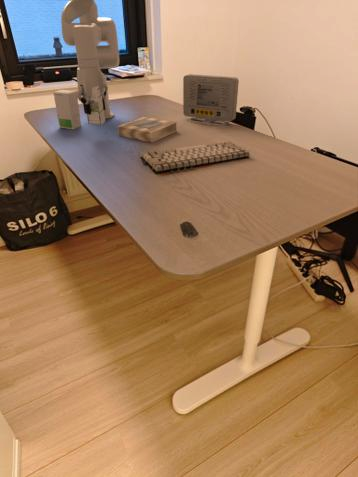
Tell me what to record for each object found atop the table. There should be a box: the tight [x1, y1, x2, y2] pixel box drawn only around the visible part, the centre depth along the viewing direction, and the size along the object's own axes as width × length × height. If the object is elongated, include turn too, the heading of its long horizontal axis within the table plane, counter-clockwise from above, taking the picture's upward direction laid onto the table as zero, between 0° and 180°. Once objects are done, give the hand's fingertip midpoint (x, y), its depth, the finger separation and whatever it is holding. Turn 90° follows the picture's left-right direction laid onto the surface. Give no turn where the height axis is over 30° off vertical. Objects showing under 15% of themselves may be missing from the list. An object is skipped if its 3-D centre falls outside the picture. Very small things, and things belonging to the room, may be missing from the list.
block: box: [179, 221, 199, 238], centre depth 82 cm, size 4×6×2 cm, turn 16°
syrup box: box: [83, 86, 106, 126], centre depth 136 cm, size 6×6×14 cm
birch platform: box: [117, 116, 177, 143], centre depth 146 cm, size 18×18×4 cm
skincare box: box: [53, 89, 82, 130], centre depth 152 cm, size 8×7×16 cm
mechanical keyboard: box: [139, 140, 251, 177], centre depth 121 cm, size 38×19×3 cm, turn 114°
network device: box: [182, 73, 240, 127], centre depth 156 cm, size 26×9×20 cm, turn 62°
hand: (95, 111), depth 137 cm, fingers closed on syrup box, 7 cm apart
